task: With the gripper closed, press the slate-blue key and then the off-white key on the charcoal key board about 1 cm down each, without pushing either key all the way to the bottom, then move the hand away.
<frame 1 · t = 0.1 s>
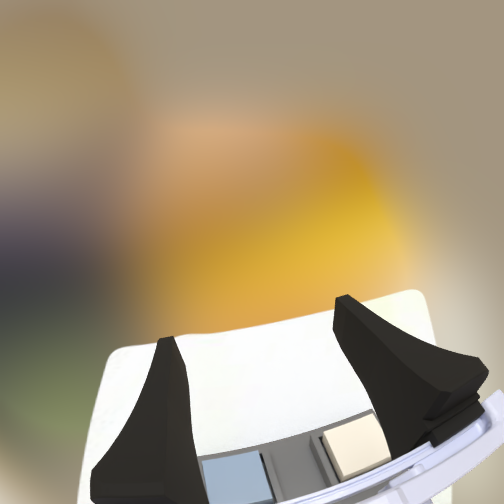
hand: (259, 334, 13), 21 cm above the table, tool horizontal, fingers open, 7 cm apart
key board: (298, 481, 23), on the table
blue key: (237, 483, 21), point 4 cm above the table, slide at 0.0 cm
white key: (357, 447, 22), point 4 cm above the table, slide at 0.0 cm
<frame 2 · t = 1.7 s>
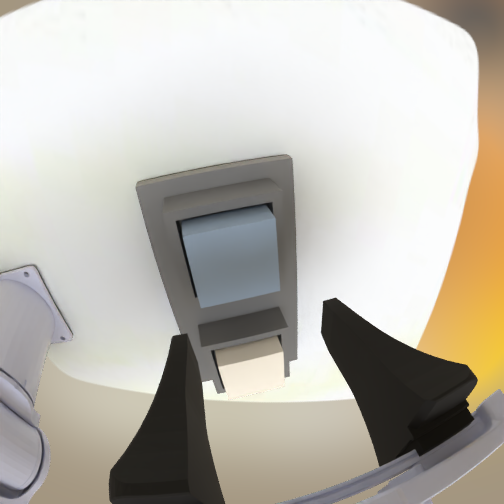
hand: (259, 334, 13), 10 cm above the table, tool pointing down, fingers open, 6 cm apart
key board: (233, 288, 25), on the table
blue key: (232, 257, 18), point 4 cm above the table, slide at 0.0 cm
white key: (251, 368, 24), point 4 cm above the table, slide at 0.0 cm
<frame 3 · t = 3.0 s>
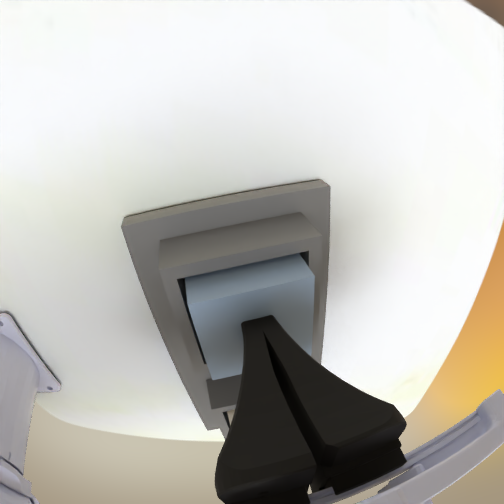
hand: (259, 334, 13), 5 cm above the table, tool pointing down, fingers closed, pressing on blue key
key board: (247, 339, 20), on the table
blue key: (253, 319, 14), point 4 cm above the table, slide at 0.2 cm, touching gripper
white key: (268, 425, 20), point 4 cm above the table, slide at 0.0 cm
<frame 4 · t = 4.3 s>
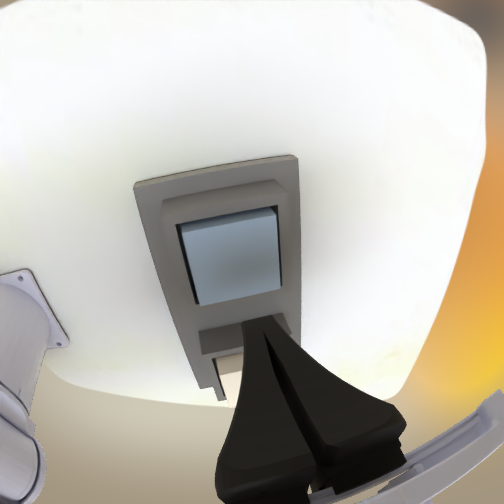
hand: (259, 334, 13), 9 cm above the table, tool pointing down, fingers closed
key board: (234, 294, 24), on the table
blue key: (232, 254, 18), point 3 cm above the table, slide at 0.9 cm
white key: (253, 376, 23), point 4 cm above the table, slide at 0.0 cm
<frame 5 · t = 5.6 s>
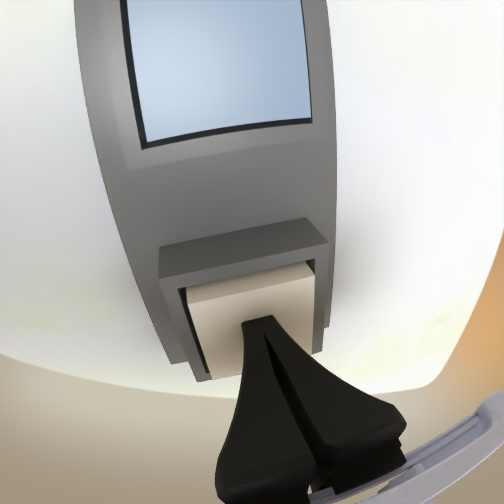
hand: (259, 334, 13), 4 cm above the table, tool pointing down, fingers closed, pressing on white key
key board: (224, 179, 14), on the table
blue key: (217, 49, 8), point 3 cm above the table, slide at 0.9 cm
white key: (253, 319, 14), point 3 cm above the table, slide at 0.8 cm, touching gripper
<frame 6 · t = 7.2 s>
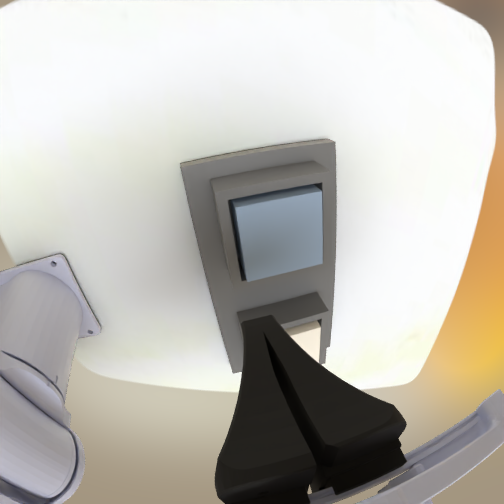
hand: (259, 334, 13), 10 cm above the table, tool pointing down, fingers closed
key board: (272, 274, 24), on the table
blue key: (278, 230, 19), point 3 cm above the table, slide at 0.9 cm
white key: (287, 347, 25), point 3 cm above the table, slide at 0.9 cm
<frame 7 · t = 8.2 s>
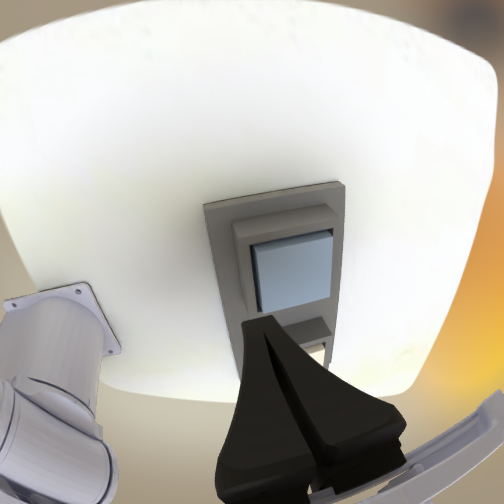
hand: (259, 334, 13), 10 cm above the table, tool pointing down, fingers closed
key board: (281, 301, 27), on the table
blue key: (292, 268, 21), point 3 cm above the table, slide at 0.9 cm
white key: (293, 365, 27), point 3 cm above the table, slide at 0.9 cm
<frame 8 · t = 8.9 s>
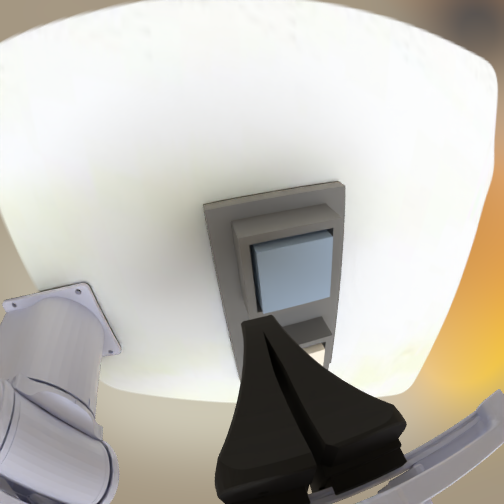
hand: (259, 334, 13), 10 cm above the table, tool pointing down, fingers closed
key board: (281, 301, 27), on the table
blue key: (292, 268, 21), point 3 cm above the table, slide at 0.9 cm
white key: (293, 365, 27), point 3 cm above the table, slide at 0.9 cm
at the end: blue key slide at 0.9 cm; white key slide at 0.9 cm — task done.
